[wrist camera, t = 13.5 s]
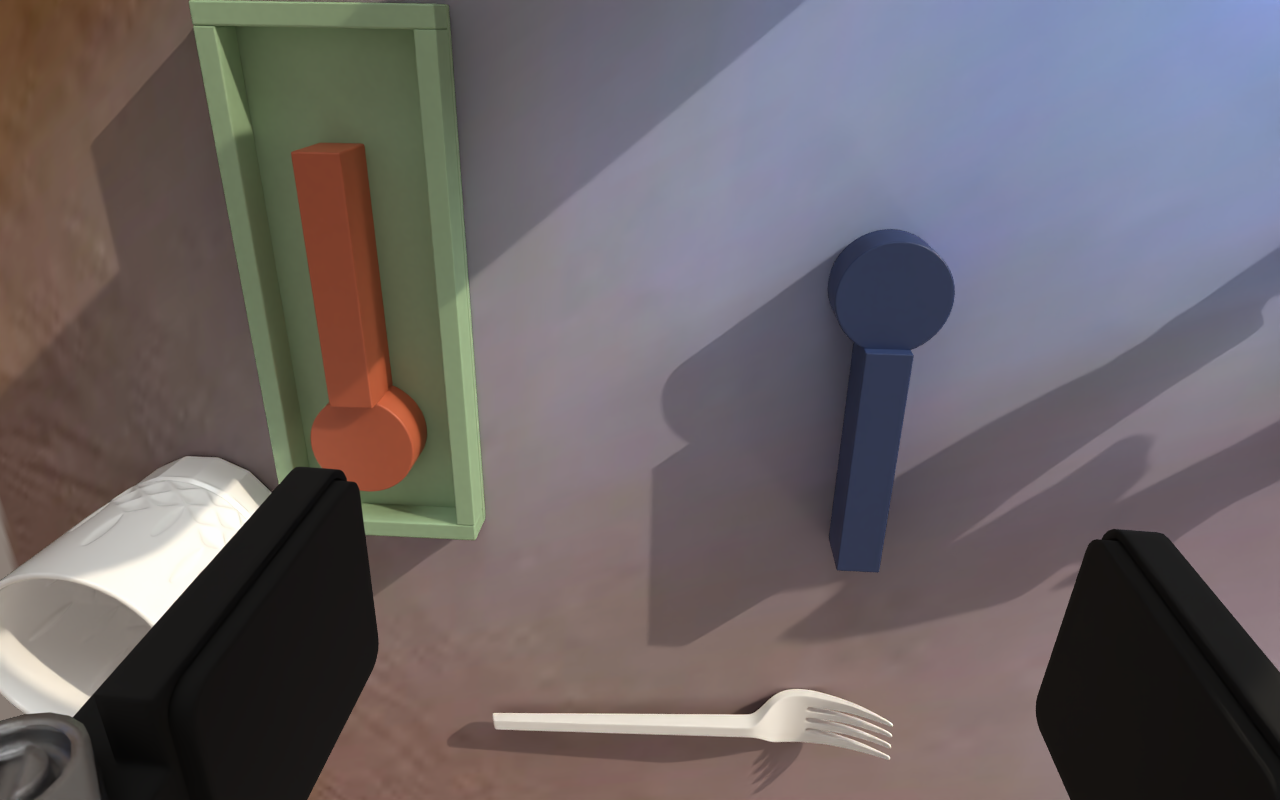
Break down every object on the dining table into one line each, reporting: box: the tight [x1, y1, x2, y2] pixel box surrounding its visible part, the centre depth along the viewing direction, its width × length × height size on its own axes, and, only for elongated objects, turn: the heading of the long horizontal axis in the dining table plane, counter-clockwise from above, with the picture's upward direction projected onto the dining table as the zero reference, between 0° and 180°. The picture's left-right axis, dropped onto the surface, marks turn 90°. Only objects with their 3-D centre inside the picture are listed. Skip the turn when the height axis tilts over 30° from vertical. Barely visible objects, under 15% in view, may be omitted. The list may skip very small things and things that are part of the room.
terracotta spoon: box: [291, 143, 427, 492], centre depth 34 cm, size 14×4×2 cm, turn 179°
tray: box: [189, 0, 485, 540], centre depth 34 cm, size 22×9×2 cm, turn 179°
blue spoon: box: [828, 229, 955, 572], centre depth 34 cm, size 14×4×2 cm, turn 179°
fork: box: [493, 689, 893, 760], centre depth 42 cm, size 3×20×2 cm, turn 93°
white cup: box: [0, 456, 272, 717], centre depth 35 cm, size 8×8×10 cm
